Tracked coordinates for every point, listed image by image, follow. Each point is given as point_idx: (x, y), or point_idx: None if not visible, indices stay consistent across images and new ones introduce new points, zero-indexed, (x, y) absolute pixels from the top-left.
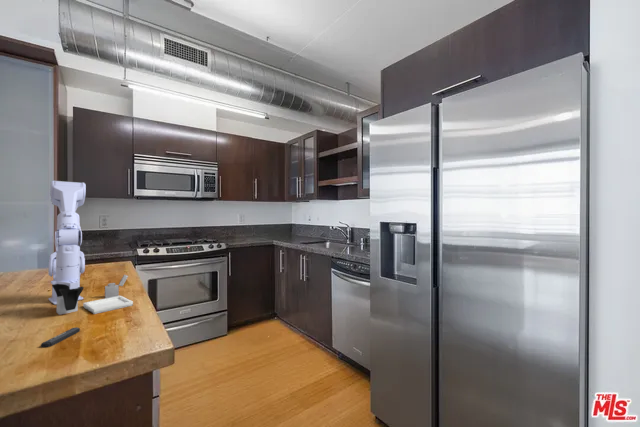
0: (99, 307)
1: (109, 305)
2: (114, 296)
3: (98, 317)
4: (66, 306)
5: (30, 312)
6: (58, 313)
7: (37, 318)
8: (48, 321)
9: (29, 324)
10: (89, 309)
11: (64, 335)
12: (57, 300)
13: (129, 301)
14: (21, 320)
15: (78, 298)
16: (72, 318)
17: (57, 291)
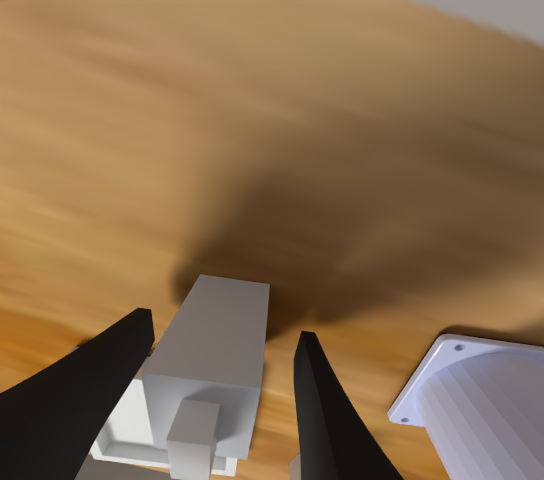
0: (140, 390)
1: (142, 413)
2: (295, 461)
3: (6, 336)
4: (107, 330)
5: (433, 206)
6: (218, 279)
7: (225, 180)
8: (93, 195)
9: (105, 94)
10: (142, 364)
11: None
12: (233, 355)
13: (103, 455)
14: (272, 93)
15: (408, 412)
16: (67, 281)
17: (329, 469)
